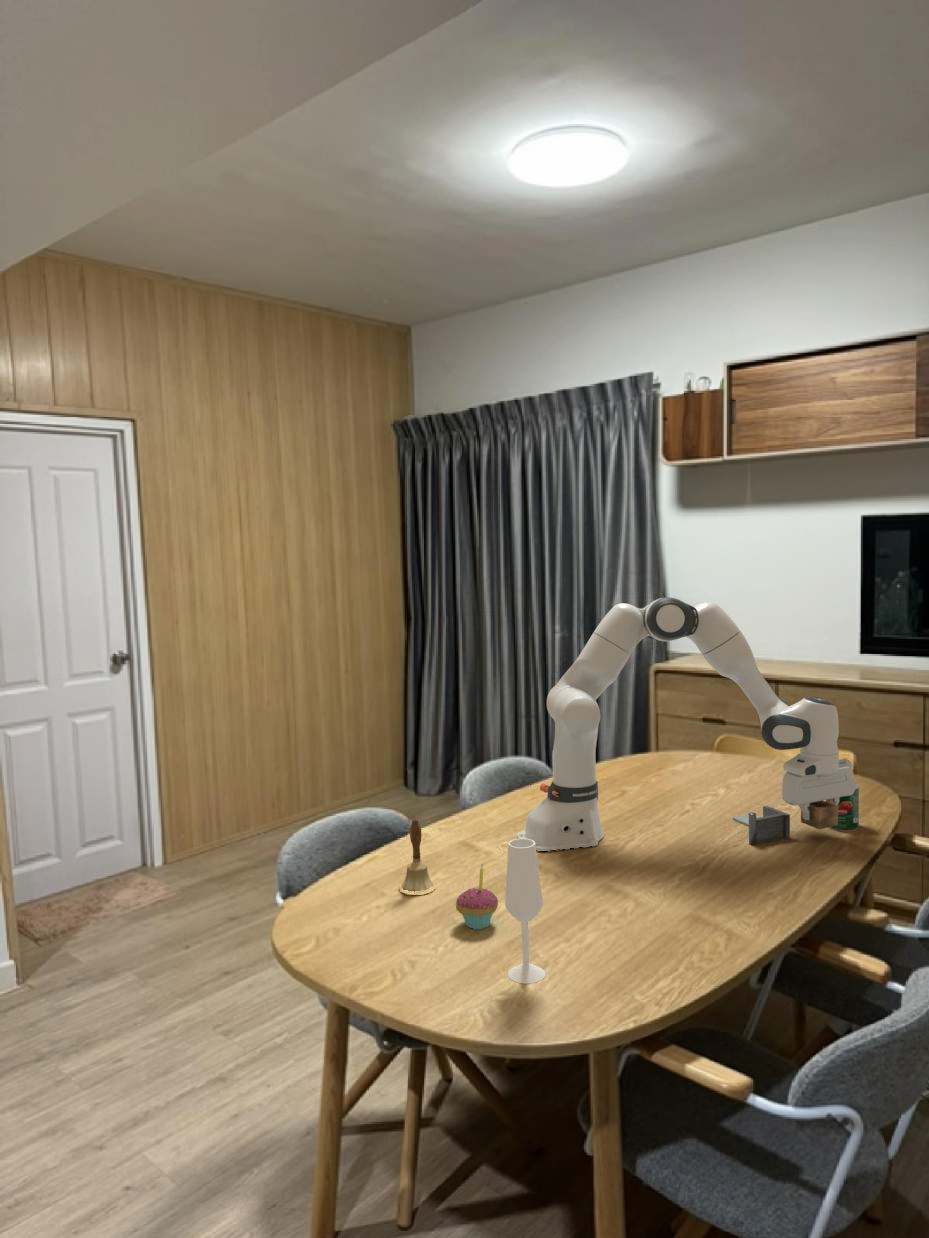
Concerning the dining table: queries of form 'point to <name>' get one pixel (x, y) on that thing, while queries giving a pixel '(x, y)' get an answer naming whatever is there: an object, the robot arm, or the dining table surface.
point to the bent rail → (768, 826)
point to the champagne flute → (523, 901)
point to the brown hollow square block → (822, 815)
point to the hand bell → (416, 864)
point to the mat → (744, 819)
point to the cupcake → (477, 905)
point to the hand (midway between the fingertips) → (819, 816)
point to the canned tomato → (848, 812)
